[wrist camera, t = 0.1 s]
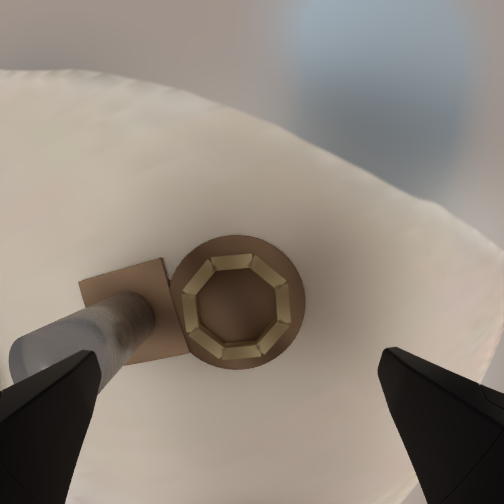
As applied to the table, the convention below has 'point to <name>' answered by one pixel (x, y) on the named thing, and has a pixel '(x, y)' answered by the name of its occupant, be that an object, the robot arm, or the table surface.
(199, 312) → the hub seat
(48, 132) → the table surface
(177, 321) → the stand pad
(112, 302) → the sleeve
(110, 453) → the table surface
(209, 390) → the table surface
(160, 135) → the table surface
